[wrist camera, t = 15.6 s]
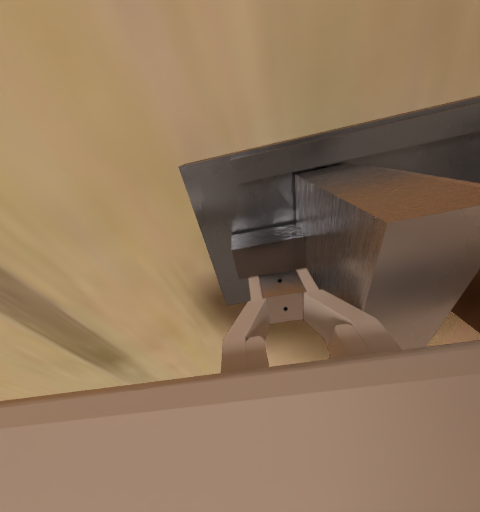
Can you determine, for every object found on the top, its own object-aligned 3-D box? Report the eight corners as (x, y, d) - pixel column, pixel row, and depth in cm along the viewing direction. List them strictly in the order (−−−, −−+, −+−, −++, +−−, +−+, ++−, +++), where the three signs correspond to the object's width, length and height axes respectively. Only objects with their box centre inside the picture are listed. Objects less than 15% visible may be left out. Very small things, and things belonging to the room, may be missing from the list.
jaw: (220, 190, 11) (202, 257, 4) (357, 160, 10) (556, 191, 4) (245, 291, 15) (253, 392, 9) (340, 275, 15) (418, 373, 8)
